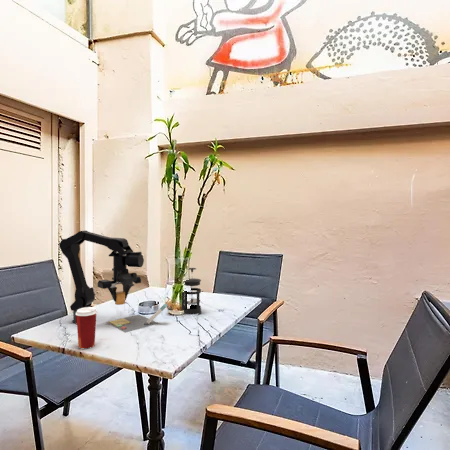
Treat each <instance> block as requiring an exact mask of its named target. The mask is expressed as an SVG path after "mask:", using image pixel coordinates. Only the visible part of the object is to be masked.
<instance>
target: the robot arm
mask: <svg viewBox="0 0 450 450" xmlns="http://www.w3.org/2000/svg"><path fill="white" fill-rule="evenodd" d="M84 242H90V243H93V244H97V245H100V246H104V247H106V248H107V249H109V250H110V251H111V253H109V254H108V257H113V259H112V262H113V263H112V264H113V268H111V271H112V272H113V274H112V275H113V277H111V280H109V279H100V280H98V282H97V284H96V285H97V287H98V288H101V289H102V290H103V289H104V290H105V289H107V290H108V291H109V293H110V295H111V298H112V299H113V301H114V303H115V302H116V292H117V289H118V287H116V285H122V291H124V292H125V301H126V300H127V298H128V296H129V293H130V289H131V288H132V287H134V286H135V284H141V283H142V278H141V277H140V276H138V275H137V274H138V273H137V272H130V273H129V268H143V266H144V263H145V259H144V258H145V257H143V253H142V251H134V250H133V249H132V247H131V246H130V244H129V241H128V240H127V239H126V238H124V237H110V236H105V235H102V234H98V233H95V232H92V231H91V232H90V231H88V230H80V231H78V232H76V233H75V234H73V235H70V236H69V237H66V238H62V239H61V240H60V242H59V244H58V245H59V248H60V251H61V253H62V254H63V256H64V257H65V258H66V259H67V262H68V266H69V268H70V272H71V273H70V274H71V276H72V279H73V282H74V285H75V286H74V287H75V291H74V292H75V293H74V301H73V302H72V303H71V305H70V306H69V308H70V310H71V311H72V314H73V315H72V316H73V318H72V320H71V322H73V324H75V325H77V317H76V315H75V314H76V312H77V310H78V309H80V308H85V307H92V304H93V303H94V301H95V299H96V298H95V297H96V294H95V291H94V287H93V286H91V287H90V286H89V285H88V284H87V281H86V278H85V277H86V276H85V273H84V269H83V266H82V263H81V260H80V250H81V247H80V246H81V245H83V243H84ZM127 267H129V268H127Z"/></svg>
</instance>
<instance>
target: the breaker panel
mask: <svg viewBox="0 0 450 450" xmlns="http://www.w3.org/2000/svg"><path fill="white" fill-rule="evenodd" d="M149 319H150V318H148V317H146V316H143V315H141V314H136V315H132V316H127V317H123V318H118V319H115V320H111V321H105V323H106V324H108V325H110V326H111V327H113V328H116V329H117V330H119V331H121V332H123V333H129V332H133V331H136V330H140V329H144V328H148V327H152V326H154V325H155V326H156V325H159V324H160V322H157V321H156V320H154V319H153V320H152V321H151V322H150V323H149V324H148V323H147V322H146V321H148V320H149Z"/></svg>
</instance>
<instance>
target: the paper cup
mask: <svg viewBox="0 0 450 450" xmlns="http://www.w3.org/2000/svg"><path fill="white" fill-rule="evenodd" d="M97 313H98V310H97V308H96V307H94V306H93V307H92V306H89V307H85V308H80V309H78V310H77V312H76V314H75V315H76V317H77V324H76V327H77V328H76V329H77V330H76V331H77V340H78V341H77V342H78V344H77V345H78V348H79V347H80V348H79V349H81V348H87V349H91V348H93V347H94V346H95V343H96V327H97V326H96V325H97ZM90 347H91V348H90Z"/></svg>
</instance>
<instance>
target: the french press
mask: <svg viewBox="0 0 450 450" xmlns="http://www.w3.org/2000/svg"><path fill="white" fill-rule="evenodd" d="M188 270H190V271H191V273H193V272H194V270H197V268H196V267H189V269H188ZM188 279H189V280H186V281H183V285H184V286H186V287H190V288H191V290H190V291H188V292H187V291H184V290H183V289H182V290H183V291H184V292H183V291H181V310H182V311H183V310H184V313H183V314H185V315H197V316H199V315H201V314H202V306H201V305H200V303H201V299H200V294H202V293H201V292H202V289H201V288H198V287H197V286H200V285H201V281H202V280H201V279H200V278H193V277H191V278H188ZM184 282H185V284H184ZM187 294H188V295H196V298H193V297H191V298H190V299H191V300H190V301H187ZM187 304H188V305H190V304H191V306H190V309H187Z"/></svg>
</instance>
